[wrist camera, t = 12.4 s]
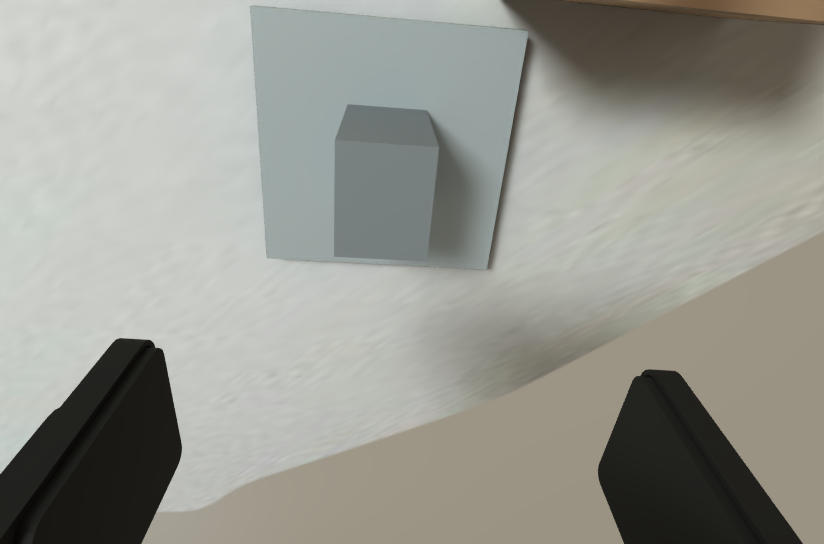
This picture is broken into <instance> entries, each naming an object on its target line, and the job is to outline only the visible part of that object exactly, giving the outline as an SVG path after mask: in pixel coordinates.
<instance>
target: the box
mask: <svg viewBox="0 0 824 544" xmlns="http://www.w3.org/2000/svg"><path fill="white" fill-rule="evenodd" d="M559 1H568V2H578V3H588V4H597V5H607V6H616V7H626V8H636V9H645V10H655V11H664V12H674V13H684V14H693V15H703V16H712V17H722V18H733V19H747V20H761V21H775V22H790V23H804V24H818V25H824V0H559Z"/></svg>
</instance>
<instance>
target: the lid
mask: <svg viewBox="0 0 824 544" xmlns="http://www.w3.org/2000/svg"><path fill="white" fill-rule="evenodd" d="M250 12H251V27H252V42H253V57H254V72H255V87H256V102H257V117H258V132H259V147H260V163H261V178H262V193H263V208H264V223H265V238H266V253H267V258H272V259H292V260H311V261H330V262H350V263H369V264H388V265H408V266H427V267H446V268H466V269H485V270H487V265H488V260H489V254H490V248H491V243H492V237H493V231H494V225H495V220H496V214H497V208H498V203H499V197H500V191H501V186H502V180H503V174H504V169H505V163H506V157H507V152H508V146H509V140H510V135H511V129H512V123H513V118H514V112H515V106H516V101H517V95H518V89H519V83H520V78H521V72H522V66H523V61H524V55H525V49H526V44H527V38H528V32H529V31H527V30H520V29H509V28H498V27H487V26H476V25H465V24H453V23H442V22H431V21H420V20H409V19H398V18H387V17H376V16H364V15H353V14H342V13H331V12H320V11H309V10H298V9H287V8H275V7H264V6H250Z"/></svg>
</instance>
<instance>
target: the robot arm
mask: <svg viewBox="0 0 824 544" xmlns="http://www.w3.org/2000/svg"><path fill="white" fill-rule="evenodd" d="M181 452H182V444H181V439H180V434H179V429H178V423H177V418H176V413H175V408H174V403H173V398H172V393H171V387H170V382H169V377H168V372H167V367H166V362H165V357H164V353H163V350H162V349H160V348H155V345H154V343H153V342H152V341H150V340H141V339H124V338H119V339H116V340H115V341H114V342H113V343H112V344H111V346H110V347H109V348H108V349H107V350H106V352H105V353H104V354H103V355H102V357H101V358H100V359H99V360H98V361H97V363H96V364H95V365H94V366H93V368H92V369H91V370H90V371H89V373H88V374H87V375H86V376H85V377H84V379H83V380H82V381H81V382H80V384H79V385H78V386H77V387H76V388H75V390H74V391H73V392H72V393H71V395H70V396H69V397H68V398H67V399H66V401H65V402H64V403H63V404H62V406H61V407H60V408H58V409H56V410H55V411H53V412H52V413H51V414H50V415H49V416H48V417H47V419H46V420H45V421H44V422H43V423H42V425H41V426H40V427H39V428H38V429H37V431H36V432H35V433H34V434H33V435H32V437H31V438H30V439H29V440H28V442H27V443H26V444H25V445H24V446H23V448H22V449H21V450H20V451H19V452H18V454H17V455H16V456H15V457H14V458H13V460H12V461H11V462H10V463H9V465H8V466H7V467H6V468H5V469H4V471H3V472H2V473H1V474H0V544H141V543H142V541H143V539H144V537H145V534H146V532H147V530H148V528H149V526H150V524H151V522H152V520H153V518H154V515H155V513H156V511H157V509H158V507H159V505H160V503H161V500H162V498H163V496H164V494H165V492H166V490H167V488H168V486H169V483H170V481H171V479H172V477H173V475H174V473H175V471H176V469H177V466H178V464H179V461H180V458H181ZM598 476H599V481H600V485H601V487H602V490H603V492H604V494H605V497H606V499H607V502H608V504H609V507H610V509H611V512H612V514H613V517H614V519H615V522H616V524H617V527H618V529H619V532H620V534H621V537H622V539H623V542H624V544H803V543H802V542H801V540H800V539H799V538H798V536H797V535H796V534H795V532H794V531H793V529H792V528H791V527H790V525H789V524H788V522H787V521H786V520H785V518H784V517H783V516H782V514H781V513H780V511H779V510H778V509H777V507H776V506H775V504H774V503H773V502H772V501H771V499H770V498H769V496H768V495H767V493H766V492H765V491H764V489H763V488H762V487H761V485H760V484H759V482H758V481H757V480H756V478H755V477H754V476H753V474H752V473H751V471H750V470H749V469H748V467H747V466H746V464H745V463H744V462H743V460H742V459H741V458H740V456H739V455H738V453H737V452H736V451H735V449H734V448H733V447H732V445H731V444H730V442H729V441H728V440H727V438H726V437H725V435H724V434H723V433H722V431H721V430H720V429H719V427H718V426H717V424H716V423H715V422H714V420H713V419H712V417H711V416H710V415H709V413H708V412H707V411H706V409H705V408H704V406H703V405H702V404H701V402H700V401H699V400H698V398H697V397H696V395H695V394H694V393H693V391H692V390H691V388H690V387H689V386H688V384H687V383H686V382H685V380H684V379H683V378H682V376H681V375H680V374H679V373H678V372H675V371H665V370H645V371H644V372H642V375H641V376H636V377H635V378H634V379H633V381H632V384H631V386H630V389H629V391H628V394H627V396H626V399H625V401H624V403H623V406H622V408H621V411H620V413H619V416H618V418H617V421H616V424H615V426H614V429H613V431H612V434H611V436H610V439H609V441H608V443H607V446H606V448H605V451H604V453H603V456H602V459H601V461H600V463H599V467H598Z"/></svg>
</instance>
